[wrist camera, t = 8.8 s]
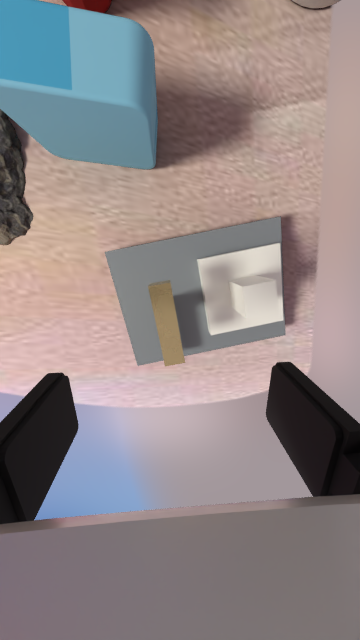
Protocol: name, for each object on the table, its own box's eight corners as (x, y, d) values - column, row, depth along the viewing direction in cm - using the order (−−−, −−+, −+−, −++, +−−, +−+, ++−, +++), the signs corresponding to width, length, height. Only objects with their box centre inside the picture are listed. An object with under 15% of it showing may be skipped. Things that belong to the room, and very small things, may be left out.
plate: (269, 220, 29) (280, 216, 26) (275, 328, 34) (285, 335, 31) (110, 252, 29) (104, 252, 26) (140, 356, 34) (137, 365, 31)
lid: (274, 243, 27) (306, 240, 21) (277, 317, 30) (307, 333, 24) (197, 259, 27) (206, 260, 21) (208, 331, 30) (220, 351, 24)
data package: (158, 127, 25) (153, 20, 13) (156, 171, 26) (149, 108, 15) (51, 110, 24) (-54, -22, 12) (54, 158, 25) (-38, 78, 14)
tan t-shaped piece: (182, 350, 30) (189, 387, 22) (168, 353, 30) (170, 391, 22) (168, 273, 27) (170, 282, 18) (153, 276, 27) (147, 286, 18)
